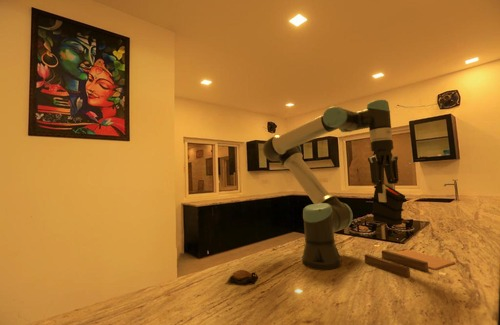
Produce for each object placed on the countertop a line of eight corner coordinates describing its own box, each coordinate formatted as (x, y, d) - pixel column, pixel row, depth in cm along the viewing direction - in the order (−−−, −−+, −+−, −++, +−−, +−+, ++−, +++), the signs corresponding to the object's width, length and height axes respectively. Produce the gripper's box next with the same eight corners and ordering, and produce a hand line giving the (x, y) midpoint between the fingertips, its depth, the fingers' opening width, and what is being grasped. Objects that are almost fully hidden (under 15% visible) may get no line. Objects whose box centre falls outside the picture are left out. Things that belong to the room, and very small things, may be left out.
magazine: (373, 214, 100) (382, 182, 94) (399, 234, 88) (411, 198, 82) (366, 215, 99) (375, 183, 93) (391, 235, 87) (403, 199, 81)
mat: (434, 270, 83) (434, 268, 83) (387, 256, 100) (387, 254, 100) (455, 263, 88) (455, 261, 88) (407, 251, 104) (407, 249, 104)
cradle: (407, 277, 78) (406, 268, 79) (365, 262, 94) (364, 254, 94) (428, 271, 83) (427, 262, 83) (384, 257, 98) (384, 250, 98)
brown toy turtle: (224, 286, 82) (224, 275, 82) (231, 276, 90) (231, 266, 90) (254, 287, 80) (254, 276, 80) (259, 277, 88) (258, 266, 88)
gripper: (373, 138, 85) (379, 204, 84) (405, 139, 92) (412, 199, 90) (356, 142, 92) (362, 202, 90) (388, 142, 99) (393, 198, 97)
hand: (387, 201), depth 90 cm, fingers closed on magazine, 4 cm apart
